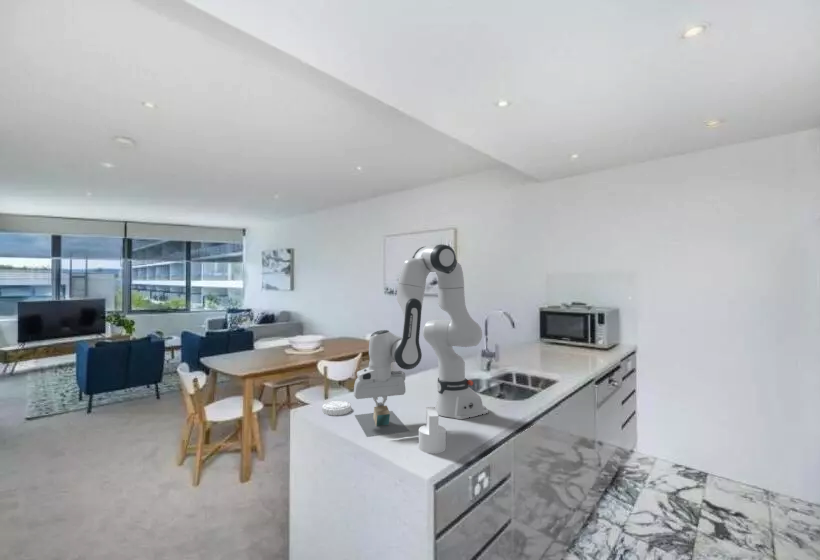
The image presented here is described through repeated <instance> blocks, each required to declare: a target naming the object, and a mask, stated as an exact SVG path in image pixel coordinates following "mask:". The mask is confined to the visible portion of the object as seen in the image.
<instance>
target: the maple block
mask: <svg viewBox="0 0 820 560" xmlns="http://www.w3.org/2000/svg"><path fill="white" fill-rule="evenodd" d="M389 411H390V410H389V408H388V405H384V406H378V407H376V406H373V413H374V415H373V418H374V421H375V424H376V426H382V425H389V419H390V412H389Z"/></svg>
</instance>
